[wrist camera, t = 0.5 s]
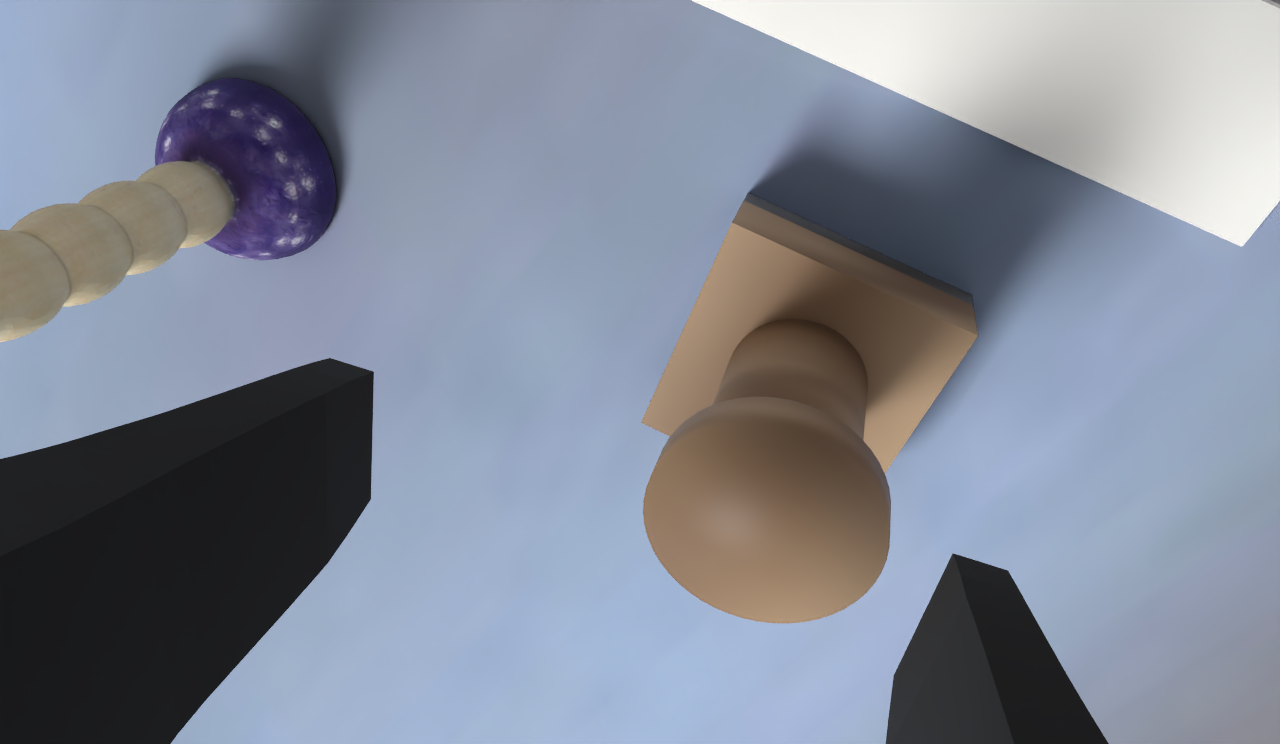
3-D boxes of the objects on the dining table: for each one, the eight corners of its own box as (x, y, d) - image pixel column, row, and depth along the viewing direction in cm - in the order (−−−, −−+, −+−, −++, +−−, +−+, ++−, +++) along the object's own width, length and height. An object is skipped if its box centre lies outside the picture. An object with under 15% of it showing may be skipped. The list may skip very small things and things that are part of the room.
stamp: (971, 294, 18) (1001, 484, 12) (856, 470, 21) (836, 695, 15) (748, 191, 18) (673, 330, 12) (662, 379, 21) (568, 566, 15)
